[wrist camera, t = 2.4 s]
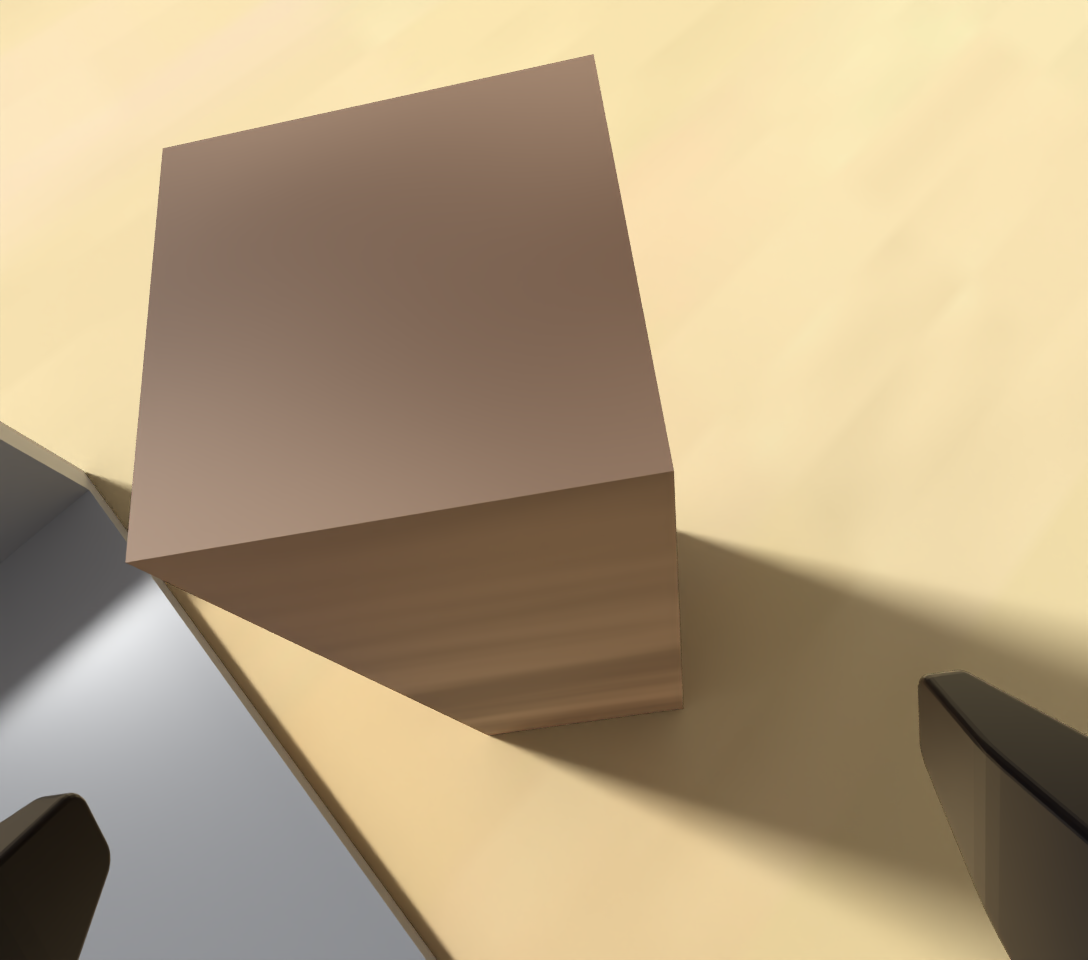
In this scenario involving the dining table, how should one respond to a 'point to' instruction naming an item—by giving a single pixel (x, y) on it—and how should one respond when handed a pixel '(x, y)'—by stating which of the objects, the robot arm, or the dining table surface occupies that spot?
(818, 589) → the dining table surface
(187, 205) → the walnut column
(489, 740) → the dining table surface
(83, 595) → the tray
